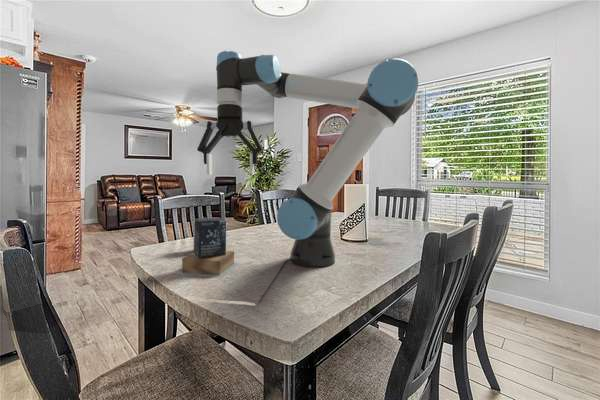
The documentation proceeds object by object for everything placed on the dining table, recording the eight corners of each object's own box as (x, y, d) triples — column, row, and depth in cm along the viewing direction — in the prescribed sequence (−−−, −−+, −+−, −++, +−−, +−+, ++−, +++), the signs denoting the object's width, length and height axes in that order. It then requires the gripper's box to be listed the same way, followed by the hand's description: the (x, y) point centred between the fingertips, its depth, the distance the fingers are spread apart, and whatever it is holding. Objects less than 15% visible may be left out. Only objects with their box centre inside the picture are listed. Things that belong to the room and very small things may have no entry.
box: (199, 258, 83) (199, 221, 82) (194, 254, 88) (194, 218, 87) (226, 255, 87) (226, 219, 86) (220, 251, 92) (220, 217, 91)
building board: (240, 264, 94) (240, 262, 94) (222, 279, 80) (222, 277, 80) (198, 261, 95) (198, 260, 95) (174, 275, 82) (174, 273, 82)
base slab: (233, 263, 92) (234, 251, 92) (219, 275, 81) (219, 260, 81) (200, 261, 94) (200, 249, 93) (182, 272, 83) (182, 258, 83)
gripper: (271, 108, 95) (272, 174, 96) (195, 109, 96) (197, 175, 98) (267, 102, 87) (268, 174, 88) (185, 103, 89) (186, 174, 90)
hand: (230, 174), depth 93 cm, fingers open, 13 cm apart
